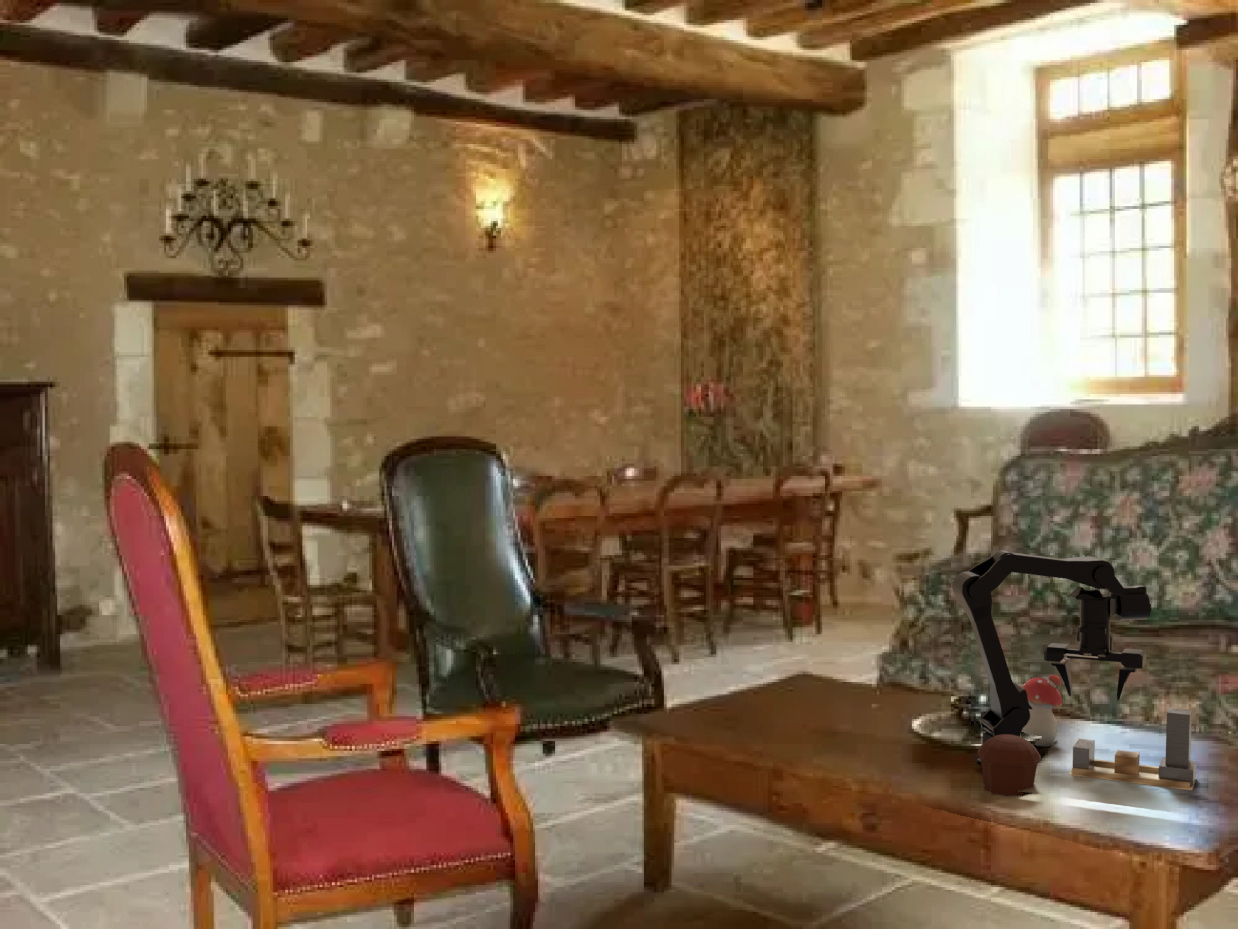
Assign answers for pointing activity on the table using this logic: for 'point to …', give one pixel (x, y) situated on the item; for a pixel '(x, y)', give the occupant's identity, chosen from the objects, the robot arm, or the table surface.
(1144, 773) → the wooden tray
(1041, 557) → the robot arm
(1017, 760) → the muffin
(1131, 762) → the walnut block
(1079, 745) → the block
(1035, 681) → the decorative ornament
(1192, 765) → the block
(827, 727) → the table surface
